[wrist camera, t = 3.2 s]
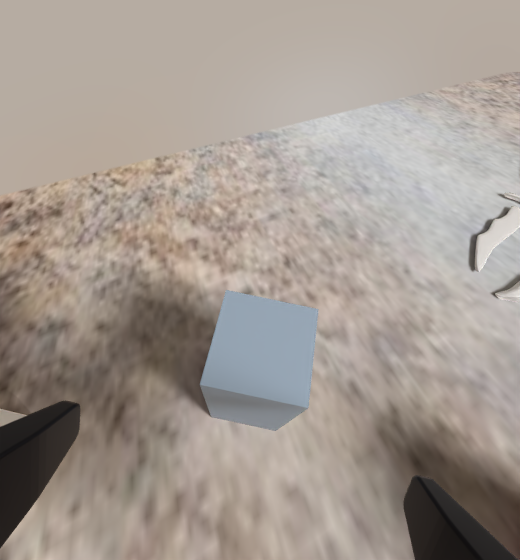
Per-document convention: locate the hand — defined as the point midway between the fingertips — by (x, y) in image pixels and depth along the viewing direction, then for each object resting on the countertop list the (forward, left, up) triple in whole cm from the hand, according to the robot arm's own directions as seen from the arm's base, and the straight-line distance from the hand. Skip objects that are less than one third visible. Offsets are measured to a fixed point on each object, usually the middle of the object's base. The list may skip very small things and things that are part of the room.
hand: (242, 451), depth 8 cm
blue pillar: (0, -4, -11) cm, 12 cm away
